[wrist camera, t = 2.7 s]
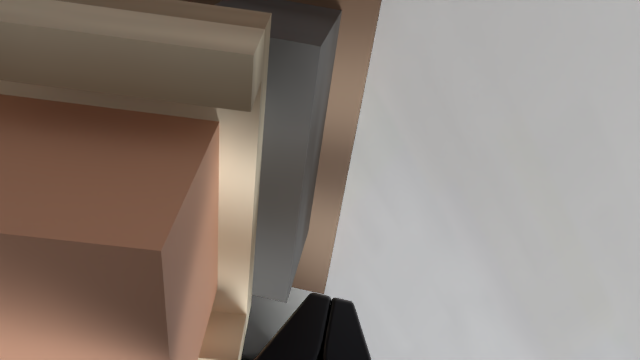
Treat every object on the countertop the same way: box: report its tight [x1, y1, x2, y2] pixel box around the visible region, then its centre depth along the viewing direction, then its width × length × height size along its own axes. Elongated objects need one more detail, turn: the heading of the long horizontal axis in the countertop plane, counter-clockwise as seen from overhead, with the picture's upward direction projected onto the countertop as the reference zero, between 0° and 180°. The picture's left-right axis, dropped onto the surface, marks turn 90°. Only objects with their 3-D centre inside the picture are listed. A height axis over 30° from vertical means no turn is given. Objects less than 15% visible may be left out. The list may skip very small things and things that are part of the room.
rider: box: [0, 94, 219, 360], centre depth 9 cm, size 5×5×4 cm
